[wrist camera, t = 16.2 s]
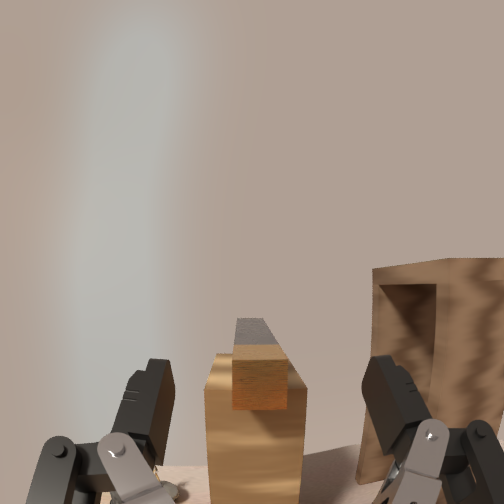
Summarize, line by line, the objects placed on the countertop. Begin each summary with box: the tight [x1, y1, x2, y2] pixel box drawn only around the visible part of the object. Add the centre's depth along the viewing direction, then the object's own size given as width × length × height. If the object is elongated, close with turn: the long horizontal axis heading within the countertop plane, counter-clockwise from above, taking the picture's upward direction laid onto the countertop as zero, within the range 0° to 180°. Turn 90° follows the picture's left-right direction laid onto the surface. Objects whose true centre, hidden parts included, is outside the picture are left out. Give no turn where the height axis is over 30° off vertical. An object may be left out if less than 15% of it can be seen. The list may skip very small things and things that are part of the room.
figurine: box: [153, 465, 180, 501], centre depth 30 cm, size 5×4×6 cm
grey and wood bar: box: [232, 318, 288, 410], centre depth 30 cm, size 24×4×4 cm, turn 2°
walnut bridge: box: [355, 258, 504, 504], centre depth 28 cm, size 10×16×31 cm, turn 2°
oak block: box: [204, 354, 307, 504], centre depth 28 cm, size 13×8×21 cm, turn 2°
